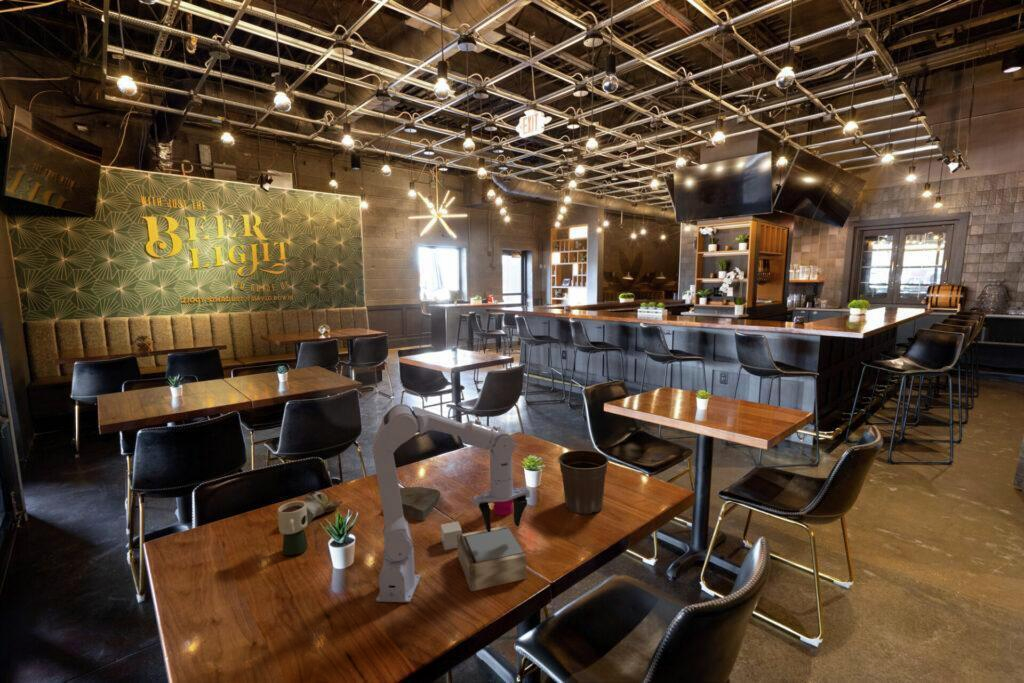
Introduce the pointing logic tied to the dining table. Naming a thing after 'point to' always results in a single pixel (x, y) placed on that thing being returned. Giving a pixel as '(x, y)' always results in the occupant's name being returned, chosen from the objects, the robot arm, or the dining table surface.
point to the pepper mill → (503, 507)
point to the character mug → (293, 527)
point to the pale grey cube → (450, 534)
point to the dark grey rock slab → (418, 501)
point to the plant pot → (583, 480)
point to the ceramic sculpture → (318, 505)
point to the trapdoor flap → (493, 545)
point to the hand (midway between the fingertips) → (502, 527)
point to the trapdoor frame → (489, 565)
